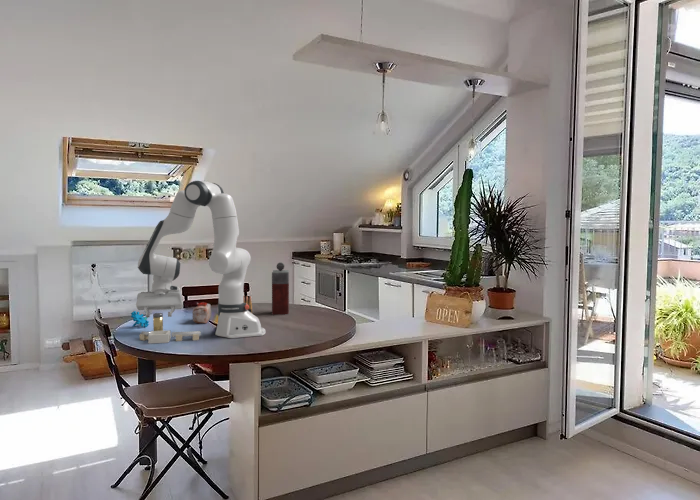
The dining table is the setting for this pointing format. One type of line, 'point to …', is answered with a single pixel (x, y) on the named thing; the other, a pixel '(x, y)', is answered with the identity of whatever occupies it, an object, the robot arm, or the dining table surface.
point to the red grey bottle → (280, 290)
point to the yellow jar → (158, 322)
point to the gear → (139, 319)
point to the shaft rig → (166, 336)
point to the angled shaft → (144, 335)
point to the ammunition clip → (248, 303)
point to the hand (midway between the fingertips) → (158, 316)
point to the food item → (202, 313)
